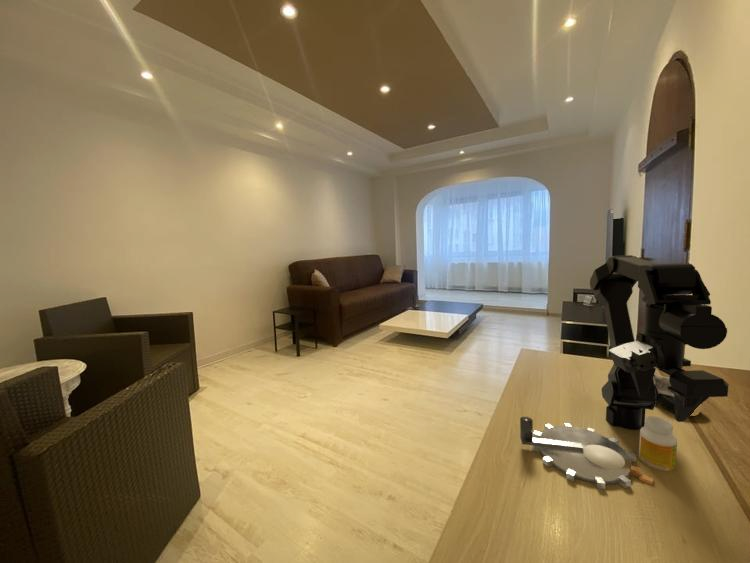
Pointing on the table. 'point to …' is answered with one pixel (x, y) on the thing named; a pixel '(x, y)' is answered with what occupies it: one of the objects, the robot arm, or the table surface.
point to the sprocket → (581, 453)
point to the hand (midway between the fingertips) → (659, 408)
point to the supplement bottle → (658, 444)
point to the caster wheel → (664, 392)
